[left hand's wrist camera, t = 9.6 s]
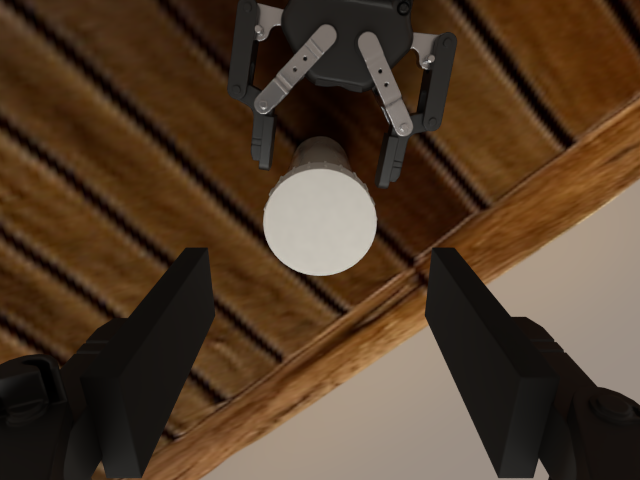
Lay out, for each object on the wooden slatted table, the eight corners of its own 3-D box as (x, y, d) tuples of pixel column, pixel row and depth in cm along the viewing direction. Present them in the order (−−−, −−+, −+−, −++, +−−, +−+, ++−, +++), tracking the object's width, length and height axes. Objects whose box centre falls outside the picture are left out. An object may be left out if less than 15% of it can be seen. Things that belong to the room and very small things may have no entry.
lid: (318, 282, 23) (318, 297, 21) (244, 212, 22) (237, 223, 20) (395, 216, 22) (401, 226, 20) (321, 136, 20) (321, 141, 18)
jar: (319, 202, 36) (318, 282, 22) (280, 163, 35) (252, 220, 20) (359, 165, 35) (387, 223, 20) (320, 123, 34) (321, 153, 19)
